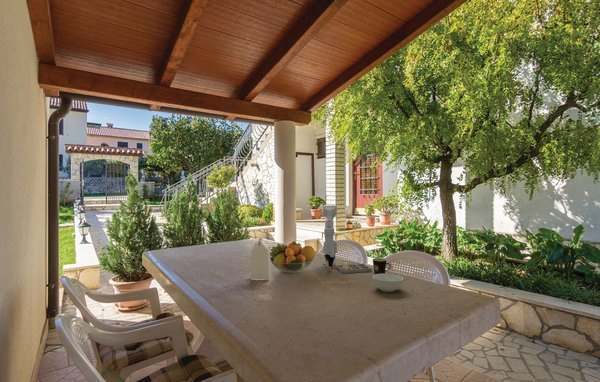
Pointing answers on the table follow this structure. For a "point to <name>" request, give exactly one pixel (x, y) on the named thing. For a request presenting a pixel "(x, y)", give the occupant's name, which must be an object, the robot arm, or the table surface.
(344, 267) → the cream egg
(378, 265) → the coffee mug
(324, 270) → the table surface
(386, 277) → the cereal bowl
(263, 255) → the milk
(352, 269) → the egg carton
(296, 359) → the table surface
